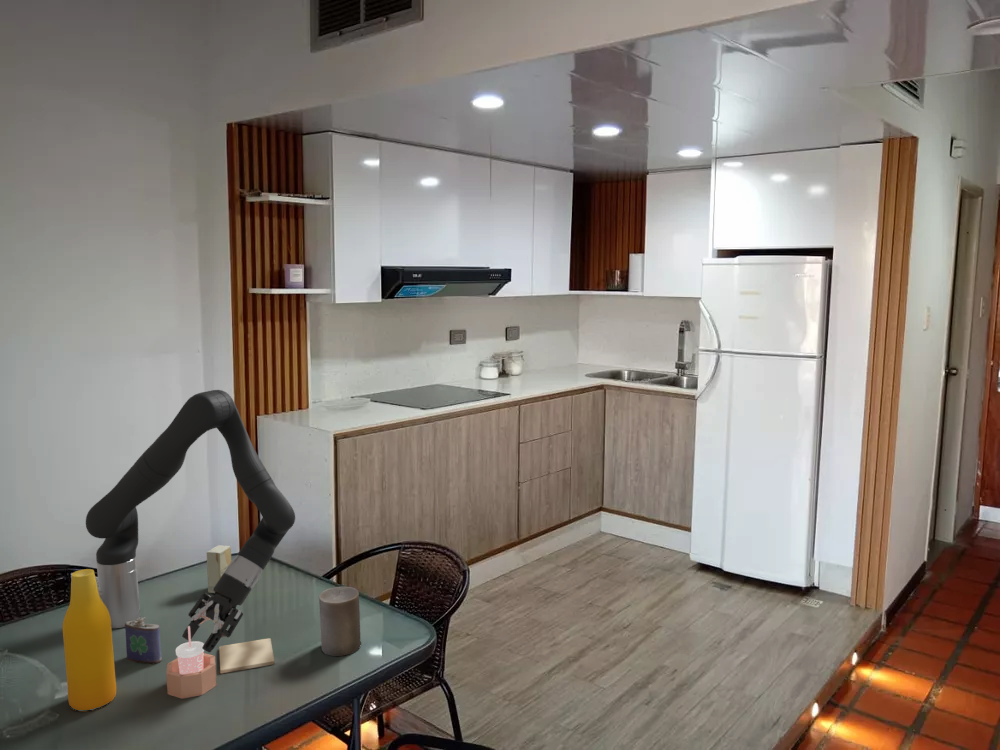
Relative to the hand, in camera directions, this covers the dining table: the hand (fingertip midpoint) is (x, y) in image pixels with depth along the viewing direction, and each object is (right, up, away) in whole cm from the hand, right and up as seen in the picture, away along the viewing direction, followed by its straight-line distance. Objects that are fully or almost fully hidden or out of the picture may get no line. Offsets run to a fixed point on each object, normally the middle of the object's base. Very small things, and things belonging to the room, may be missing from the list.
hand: (195, 644), depth 174 cm
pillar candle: (+29, -7, +18) cm, 35 cm away
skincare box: (-13, -2, +51) cm, 53 cm away
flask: (-17, -8, +11) cm, 22 cm away
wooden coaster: (+7, -7, +13) cm, 16 cm away
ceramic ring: (-1, -9, 0) cm, 9 cm away
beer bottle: (-20, -10, -6) cm, 23 cm away
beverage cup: (-1, -9, 0) cm, 9 cm away
